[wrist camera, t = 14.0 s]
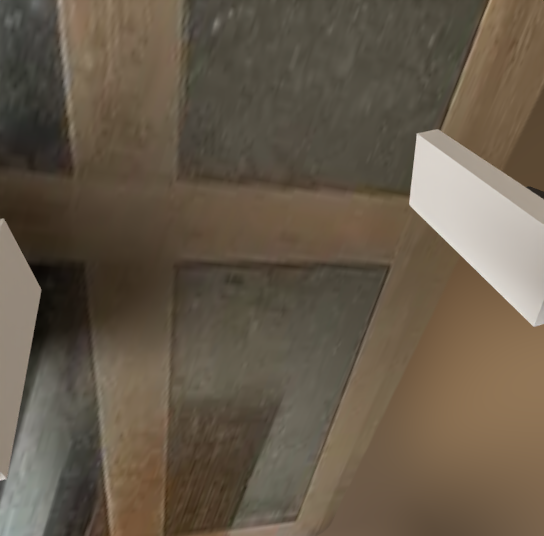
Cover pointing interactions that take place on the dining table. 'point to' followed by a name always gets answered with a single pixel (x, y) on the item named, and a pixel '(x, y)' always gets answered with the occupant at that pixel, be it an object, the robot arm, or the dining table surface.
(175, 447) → the dining table surface
